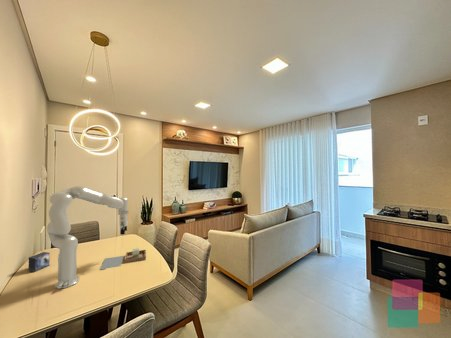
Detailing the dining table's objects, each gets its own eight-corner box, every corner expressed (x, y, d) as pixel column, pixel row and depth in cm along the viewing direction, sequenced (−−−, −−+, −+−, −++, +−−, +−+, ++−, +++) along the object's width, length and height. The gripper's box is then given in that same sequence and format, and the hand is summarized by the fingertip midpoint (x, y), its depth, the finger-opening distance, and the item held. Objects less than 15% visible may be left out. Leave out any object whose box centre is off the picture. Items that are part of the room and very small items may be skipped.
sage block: (138, 258, 165) (138, 249, 165) (132, 259, 164) (132, 250, 164) (139, 255, 170) (139, 247, 170) (132, 256, 168) (132, 248, 168)
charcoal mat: (120, 266, 152) (120, 266, 152) (99, 270, 147) (99, 269, 147) (123, 256, 170) (123, 255, 171) (105, 259, 165) (105, 258, 165)
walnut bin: (145, 260, 162) (145, 256, 162) (124, 263, 156) (124, 260, 156) (146, 252, 177) (145, 249, 177) (126, 255, 171) (126, 252, 171)
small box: (34, 272, 144) (34, 258, 144) (27, 271, 146) (27, 257, 146) (50, 265, 155) (50, 252, 155) (43, 264, 156) (43, 251, 156)
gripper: (126, 214, 158) (126, 235, 158) (129, 209, 174) (130, 229, 175) (115, 215, 156) (116, 236, 156) (120, 210, 172) (120, 229, 172)
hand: (123, 232), depth 165 cm, fingers open, 9 cm apart
